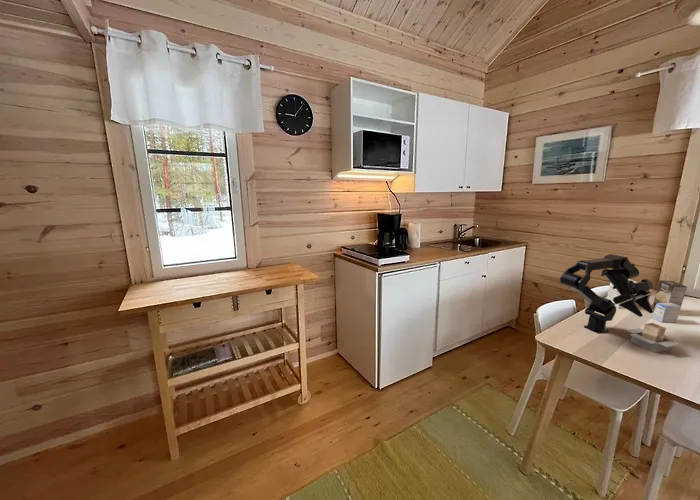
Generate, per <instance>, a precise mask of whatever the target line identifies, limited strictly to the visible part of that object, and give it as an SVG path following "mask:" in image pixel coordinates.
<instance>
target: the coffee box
mask: <svg viewBox="0 0 700 500" xmlns="http://www.w3.org/2000/svg"><path fill="white" fill-rule="evenodd" d="M687 288H688V286H687V285H684V284H682V283H678V282H676V281H674V280H662V279H661V280H659V281H658V285H657V289H656V293H655V295H654V300H653V304H652V309H655V307H656V303H673V304H676V305H679V306H681V307H682V305H683V302H684V301H683V300H684V298H685V295H686V291H687ZM681 309H682V308H680V310H681Z"/></svg>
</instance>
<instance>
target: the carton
mask: <svg viewBox="0 0 700 500" xmlns="http://www.w3.org/2000/svg"><path fill="white" fill-rule="evenodd" d="M643 329H644V328H643ZM643 329H642V328H639V327H638V328H634V329H627V330H626V331H627V332H630V334H629V336H631V340H630V342H631V343H633V344H635V345H638V346H640V347H642V348H645V349H646V350H649V351H652V352H654V353H659V352H666V351H670V350H672V347H675V346H681V344H680V343H677V342H676V339H675V338H672V337H671V336H670V337H669V336H667V335H665V334H664V338H663V342H655V341H652V340H650V339H648V338H645V337H643V336H642V333H643Z"/></svg>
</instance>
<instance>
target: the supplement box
mask: <svg viewBox="0 0 700 500" xmlns="http://www.w3.org/2000/svg"><path fill="white" fill-rule="evenodd" d="M628 280H629V281H630V280H631V281H633V282H634V283H638V281H635V280H633V279H632V278H631V279H628ZM609 282H610V281H609ZM612 287H614V286H613V285H612V283H611V282H610V284H609V288H608V292H607V296H606V299H609V300H611V301H612V302H613V303H614V301H613V298H614V297H616V296H619V295H620V293H619V292H618V291H617V290H616V289H613V288H612ZM619 304H621V303H619ZM619 304H615V306H616V309H624V310H625V308H623V307H622V306H619Z"/></svg>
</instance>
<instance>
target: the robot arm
mask: <svg viewBox="0 0 700 500" xmlns="http://www.w3.org/2000/svg"><path fill="white" fill-rule="evenodd" d="M596 270H601V274H600V276H601V277H606V278H607V280H608V281H609V282H611V283H612V285H613V286H614V287H612V288H613V289H616V290H617V291H618V292H619V293H620V295H619V296H616V297H614V298H613V301H614V303H613V302H612V301H611V300H609V299H607V297H604V296H600V295H598V294H597V293H596V292H595V291H593V290H592V289H591V287H589V286H588V283H589V281H590V280H591V273H592V272H593V271H596ZM579 271H585V272H584V275H583V276H581V275H577V274H575V273H578V272H579ZM639 275H640V271H639V269H638V268H637V267H636V264H635V263H631V261H630V260H629V257H628V256H623V255H619V254H618V255H617V254H613V253H611V254H606V255H604V257H602V258H595V259H594V258H593V259H587V260H578V261H577V262H576V264H574V265H572V266H571V267H569V268H567V269H566V270H565V271H564V272H563V273H562V274H561V276H560V278H559V283H560V284H561V285H563V286H565V287H566V288H569V289H571V290H574V291H575V292H576V293H578V295H579V296H581V297H582V298H583V299H584V300H585V301H587V303H589V305H588V306H587V307H585V308H586V309H584V312H585V313H584V314H585V315H589V317H588V323H587V324H586V325H583V327H584V328H585V329H587V330H589V331H592V332H594V333H596V334H602V333H608V332H609V330H608V329H606V326H607V325H606V324H607V322H610V321H613V319H614V317H615V316H616V312H617V307H616V306H615V304H619V303H621V304H619V306H622V307H623V308H625V309H626V310H627V311H629V312H631V313H633V314H635V315H636V316H637V317H639V318H641V317H643V313H642V311H641V310H640V308H639V306H640V307H641V308H642V309H643V310H645V311H646V312H647V313H649V314H654V310H653V307H652V305H651V303H650V300H649V299H650V296H651V295H652V291H650V290H653V289H654V287H653V285H654V282H652V280H649V279H648V278H646V279H645V278H644V279H641V281H640V282H638V281H637V282H638V283H634V282H633V281H634V280H633V281H631V280H632V279H634V278H637V277H638V276H639ZM628 279H631V280H630V281H629V280H628ZM623 308H622V309H623ZM625 309H624V310H625Z"/></svg>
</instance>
